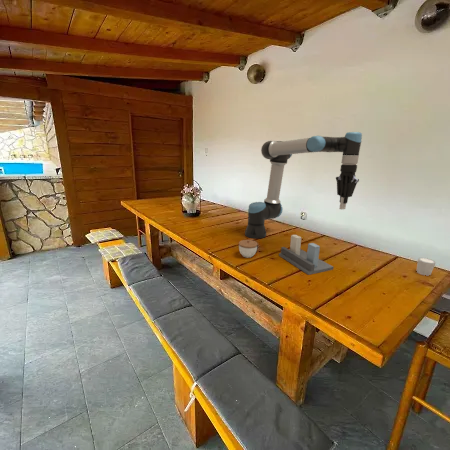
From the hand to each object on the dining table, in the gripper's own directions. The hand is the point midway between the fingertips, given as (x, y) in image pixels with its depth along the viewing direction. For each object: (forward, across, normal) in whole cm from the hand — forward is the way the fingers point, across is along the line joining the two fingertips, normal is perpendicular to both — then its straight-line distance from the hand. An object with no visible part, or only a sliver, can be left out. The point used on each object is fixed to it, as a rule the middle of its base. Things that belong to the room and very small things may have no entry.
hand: (342, 208), depth 132 cm
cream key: (+27, +8, +23) cm, 36 cm away
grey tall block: (+27, -6, +22) cm, 35 cm away
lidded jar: (+29, +20, +46) cm, 58 cm away
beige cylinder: (+29, -31, -27) cm, 50 cm away
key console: (+28, +1, +21) cm, 35 cm away
